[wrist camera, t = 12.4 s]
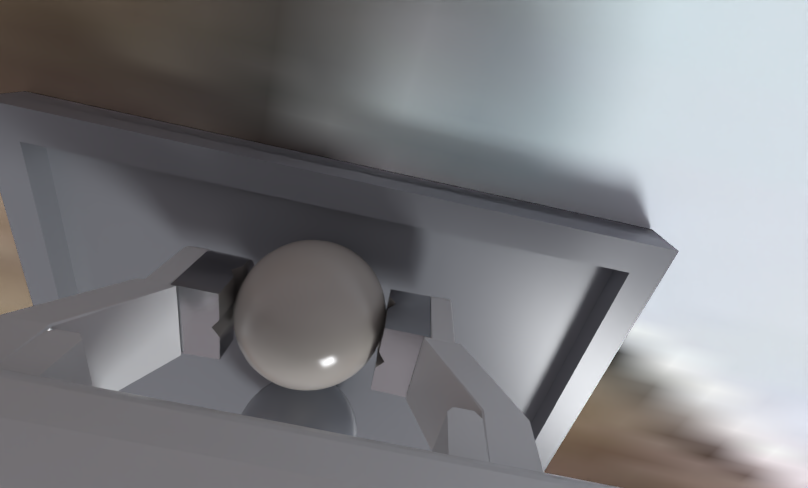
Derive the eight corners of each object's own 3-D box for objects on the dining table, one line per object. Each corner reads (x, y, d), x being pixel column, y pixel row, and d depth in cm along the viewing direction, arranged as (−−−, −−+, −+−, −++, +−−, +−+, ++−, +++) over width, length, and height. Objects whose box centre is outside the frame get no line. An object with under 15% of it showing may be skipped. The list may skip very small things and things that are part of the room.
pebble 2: (263, 339, 12) (205, 441, 9) (373, 361, 12) (354, 469, 9) (259, 414, 13) (209, 523, 10) (356, 433, 13) (335, 545, 10)
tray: (25, 91, 9) (-28, 96, 8) (651, 229, 10) (679, 251, 9) (111, 466, 16) (88, 496, 15) (481, 534, 17) (485, 567, 16)
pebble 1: (269, 203, 10) (199, 276, 7) (402, 232, 10) (393, 314, 7) (264, 311, 11) (205, 409, 8) (379, 334, 11) (363, 438, 8)
